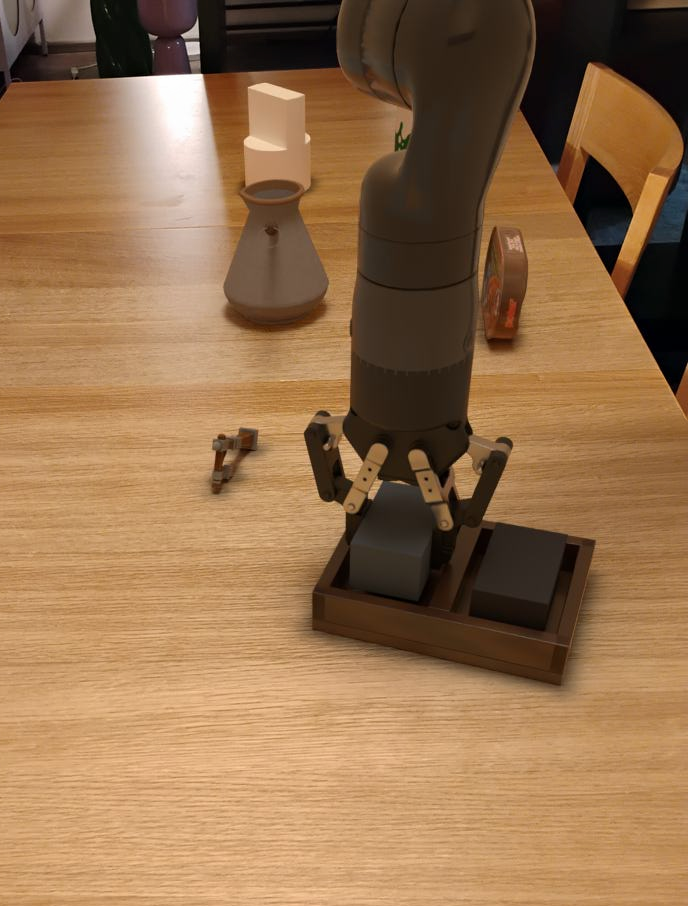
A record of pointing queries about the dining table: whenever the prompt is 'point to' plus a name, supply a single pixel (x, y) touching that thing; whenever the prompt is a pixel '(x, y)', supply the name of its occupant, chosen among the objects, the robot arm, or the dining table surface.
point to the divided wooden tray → (456, 611)
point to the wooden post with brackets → (223, 443)
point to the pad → (393, 543)
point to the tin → (504, 282)
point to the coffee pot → (275, 257)
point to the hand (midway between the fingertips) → (398, 554)
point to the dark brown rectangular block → (518, 576)
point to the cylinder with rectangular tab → (276, 136)
